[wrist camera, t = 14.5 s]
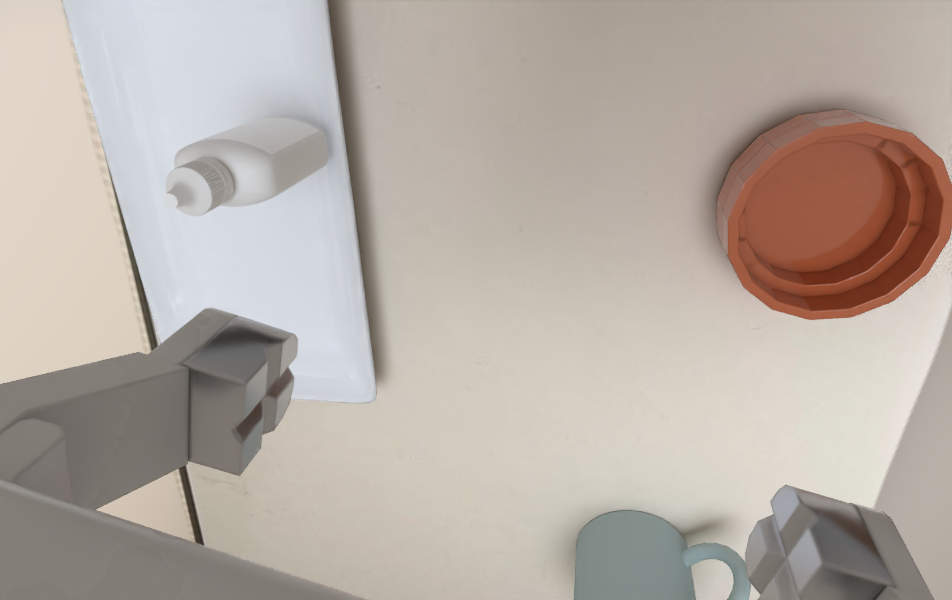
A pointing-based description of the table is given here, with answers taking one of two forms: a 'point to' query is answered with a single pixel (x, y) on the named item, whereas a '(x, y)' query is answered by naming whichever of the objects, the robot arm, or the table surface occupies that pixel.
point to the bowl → (834, 214)
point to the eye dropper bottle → (245, 164)
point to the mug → (644, 560)
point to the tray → (224, 228)
